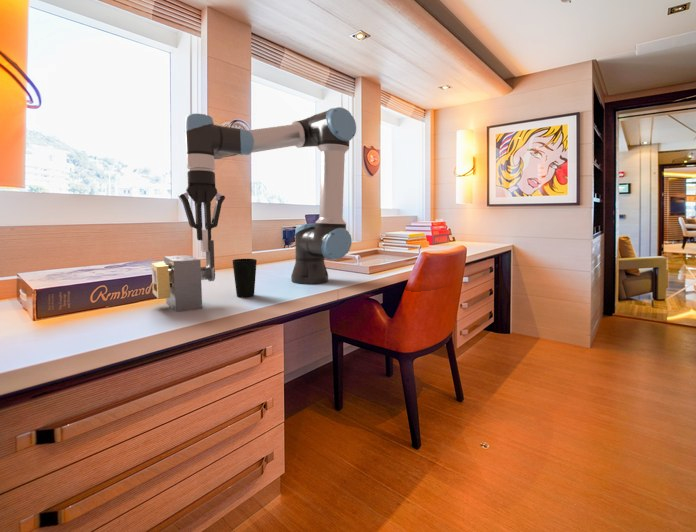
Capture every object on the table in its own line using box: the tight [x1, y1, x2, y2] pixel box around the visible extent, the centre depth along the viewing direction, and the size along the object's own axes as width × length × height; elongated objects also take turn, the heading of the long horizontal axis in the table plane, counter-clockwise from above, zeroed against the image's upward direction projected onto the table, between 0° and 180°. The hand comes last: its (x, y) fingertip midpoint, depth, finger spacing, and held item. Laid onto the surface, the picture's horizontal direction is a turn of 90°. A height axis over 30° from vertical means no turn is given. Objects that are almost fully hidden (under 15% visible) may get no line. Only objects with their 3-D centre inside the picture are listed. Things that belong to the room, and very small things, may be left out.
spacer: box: [150, 261, 170, 300], centre depth 106 cm, size 3×9×9 cm, turn 35°
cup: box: [232, 258, 258, 299], centre depth 123 cm, size 8×8×12 cm
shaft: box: [152, 239, 216, 284], centre depth 109 cm, size 16×5×13 cm, turn 125°
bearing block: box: [163, 254, 203, 313], centre depth 110 cm, size 7×14×14 cm, turn 35°
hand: (204, 251), depth 112 cm, fingers closed
